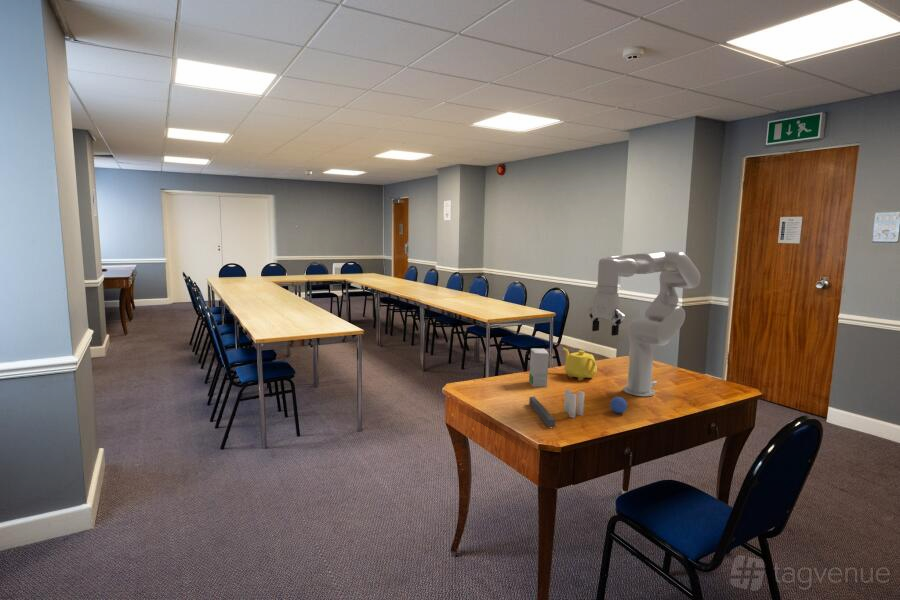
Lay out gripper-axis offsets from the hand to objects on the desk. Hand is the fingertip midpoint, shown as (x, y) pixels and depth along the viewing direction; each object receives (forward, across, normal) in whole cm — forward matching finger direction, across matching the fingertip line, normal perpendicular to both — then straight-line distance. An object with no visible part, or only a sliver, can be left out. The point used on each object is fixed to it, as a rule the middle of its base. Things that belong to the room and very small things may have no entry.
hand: (604, 332), depth 195 cm
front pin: (+28, +6, -18) cm, 34 cm away
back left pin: (+28, +7, -23) cm, 37 cm away
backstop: (+28, 0, -32) cm, 43 cm away
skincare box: (+28, -30, -7) cm, 42 cm away
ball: (+25, +12, -5) cm, 28 cm away
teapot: (+28, -30, +18) cm, 45 cm away
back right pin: (+28, +2, -21) cm, 35 cm away
